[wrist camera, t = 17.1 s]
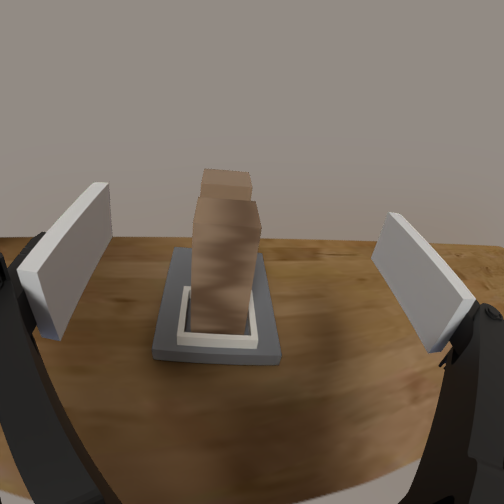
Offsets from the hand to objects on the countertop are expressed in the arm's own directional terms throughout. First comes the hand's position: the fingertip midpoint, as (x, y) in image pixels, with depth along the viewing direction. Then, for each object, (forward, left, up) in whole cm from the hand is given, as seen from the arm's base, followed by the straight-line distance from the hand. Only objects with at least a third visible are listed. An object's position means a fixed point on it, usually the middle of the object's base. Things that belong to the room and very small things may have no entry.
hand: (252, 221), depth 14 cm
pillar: (-3, +10, -16) cm, 19 cm away
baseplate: (-4, +14, -18) cm, 23 cm away
